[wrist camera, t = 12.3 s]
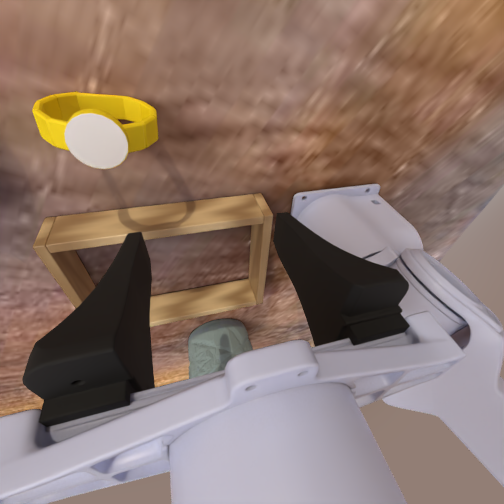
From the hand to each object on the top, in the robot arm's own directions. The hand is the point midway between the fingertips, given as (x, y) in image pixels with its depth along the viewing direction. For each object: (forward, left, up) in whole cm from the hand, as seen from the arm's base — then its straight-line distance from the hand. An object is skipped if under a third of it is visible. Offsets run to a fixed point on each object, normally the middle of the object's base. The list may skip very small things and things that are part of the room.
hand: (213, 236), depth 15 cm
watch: (+5, -4, -10) cm, 12 cm away
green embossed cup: (0, +27, -10) cm, 29 cm away
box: (+3, +10, -9) cm, 14 cm away
